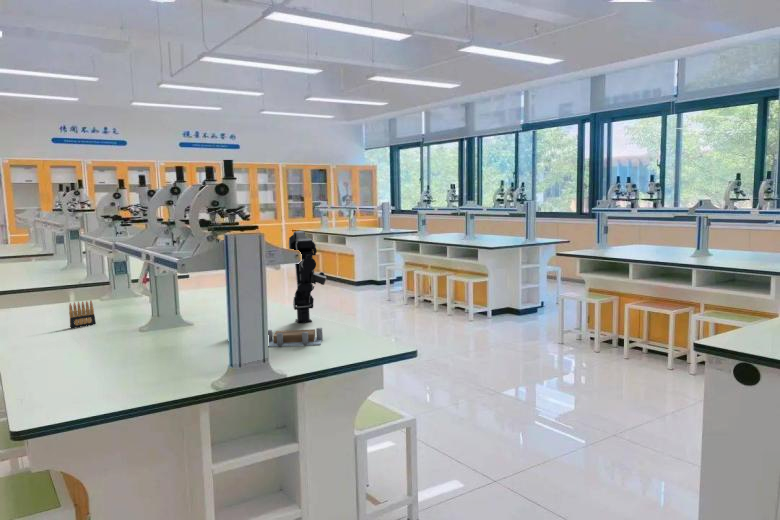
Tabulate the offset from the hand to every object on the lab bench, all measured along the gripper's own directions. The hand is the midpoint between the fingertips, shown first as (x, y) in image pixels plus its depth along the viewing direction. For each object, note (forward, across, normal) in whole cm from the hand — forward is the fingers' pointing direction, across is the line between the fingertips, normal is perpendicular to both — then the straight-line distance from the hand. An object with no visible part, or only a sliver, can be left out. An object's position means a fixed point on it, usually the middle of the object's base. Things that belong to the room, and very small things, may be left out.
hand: (307, 303), depth 251 cm
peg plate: (+12, -19, +4) cm, 23 cm away
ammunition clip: (+12, +25, +109) cm, 113 cm away
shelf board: (+10, -13, +4) cm, 17 cm away
